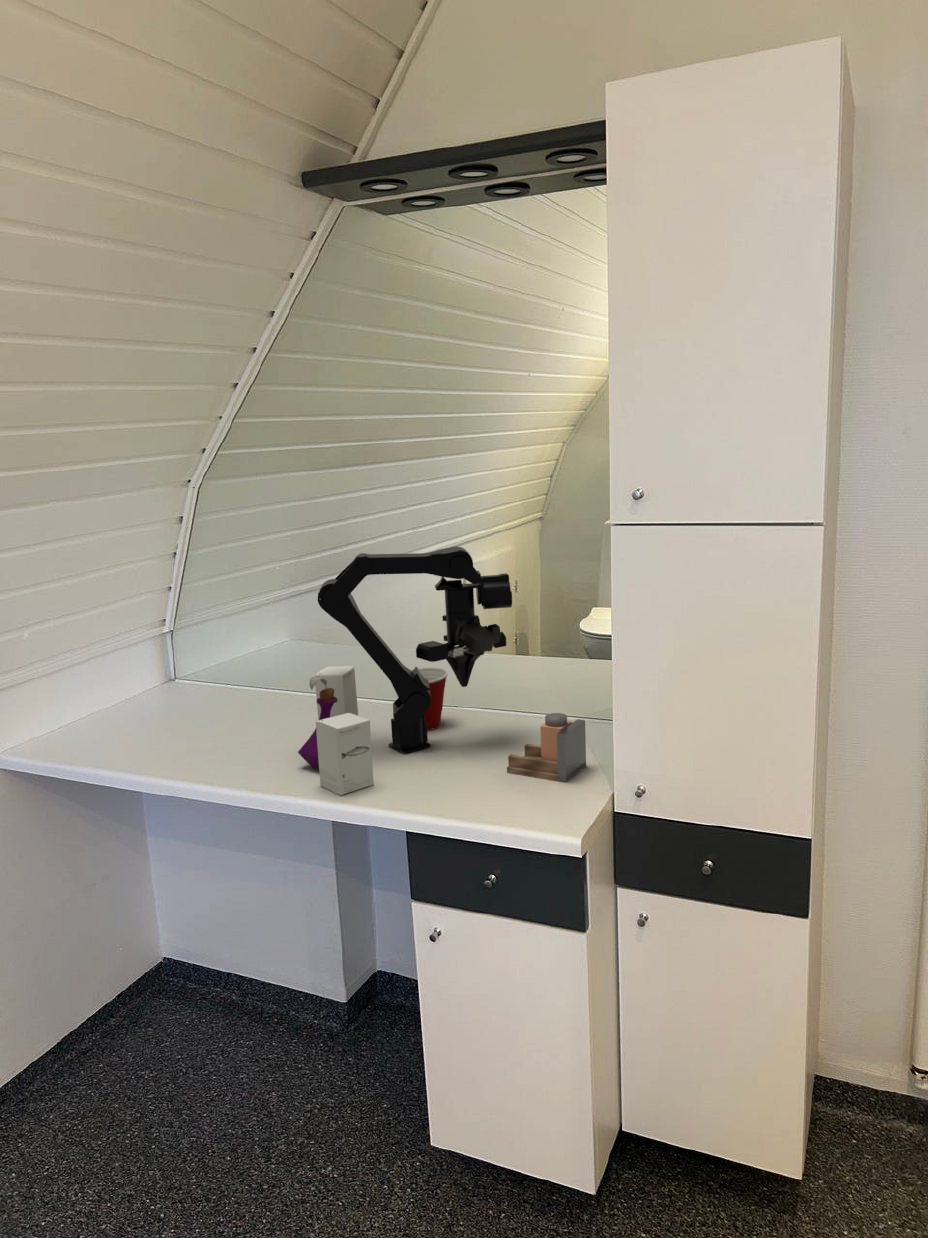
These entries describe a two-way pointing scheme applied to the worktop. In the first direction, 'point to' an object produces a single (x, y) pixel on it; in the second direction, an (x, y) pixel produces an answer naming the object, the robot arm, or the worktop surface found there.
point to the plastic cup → (434, 694)
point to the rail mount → (568, 752)
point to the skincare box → (339, 689)
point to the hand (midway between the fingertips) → (464, 686)
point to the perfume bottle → (326, 703)
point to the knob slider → (552, 734)
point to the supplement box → (344, 753)
